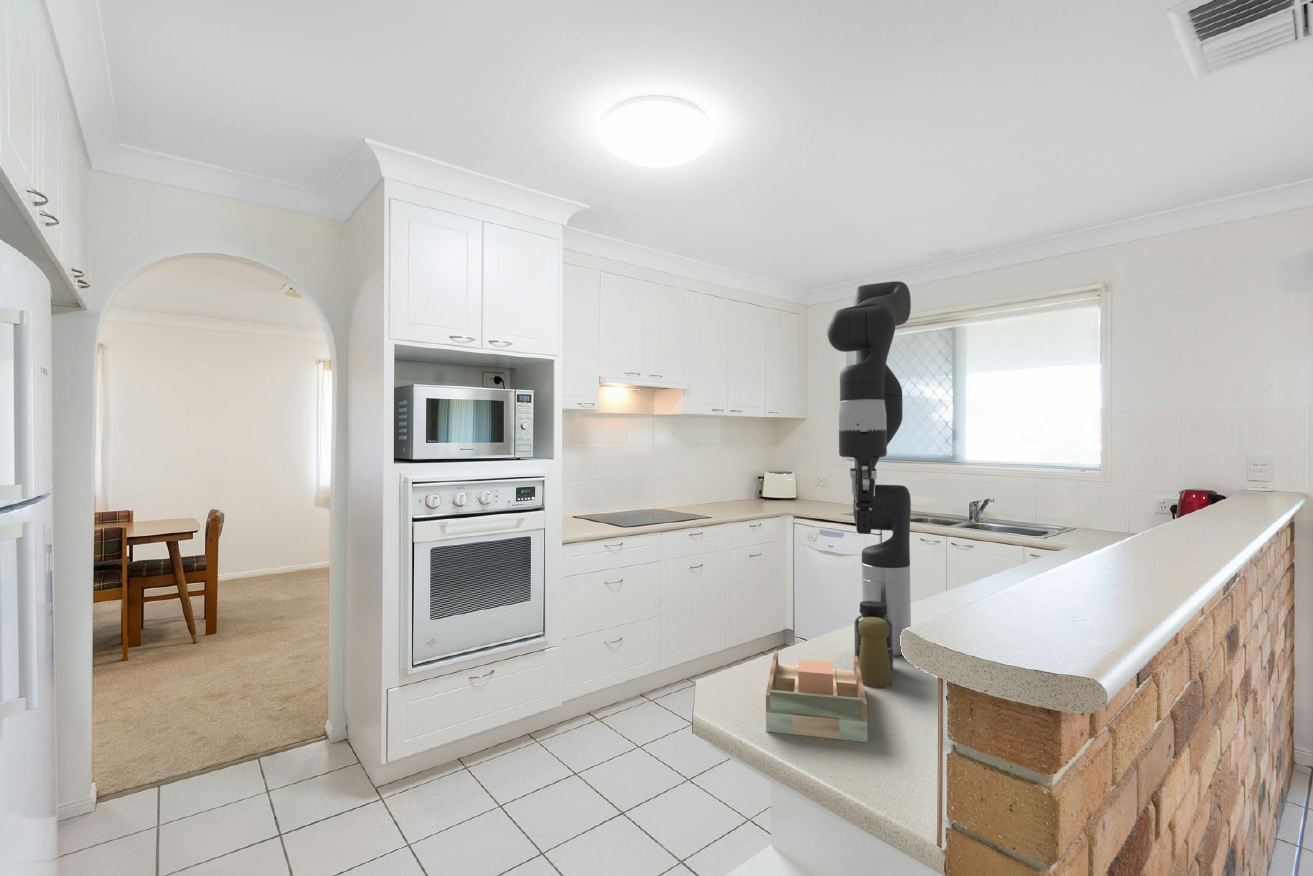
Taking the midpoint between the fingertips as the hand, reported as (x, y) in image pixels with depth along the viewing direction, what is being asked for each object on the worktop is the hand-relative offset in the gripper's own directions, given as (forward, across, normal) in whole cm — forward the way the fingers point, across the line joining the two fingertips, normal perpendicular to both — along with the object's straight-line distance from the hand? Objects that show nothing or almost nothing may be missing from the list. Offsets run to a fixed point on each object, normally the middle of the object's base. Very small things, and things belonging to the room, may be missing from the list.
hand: (863, 533), depth 102 cm
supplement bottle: (+27, -14, +2) cm, 31 cm away
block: (+24, +10, -8) cm, 27 cm away
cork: (+27, -8, +2) cm, 28 cm away
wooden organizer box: (+27, +6, -8) cm, 29 cm away
